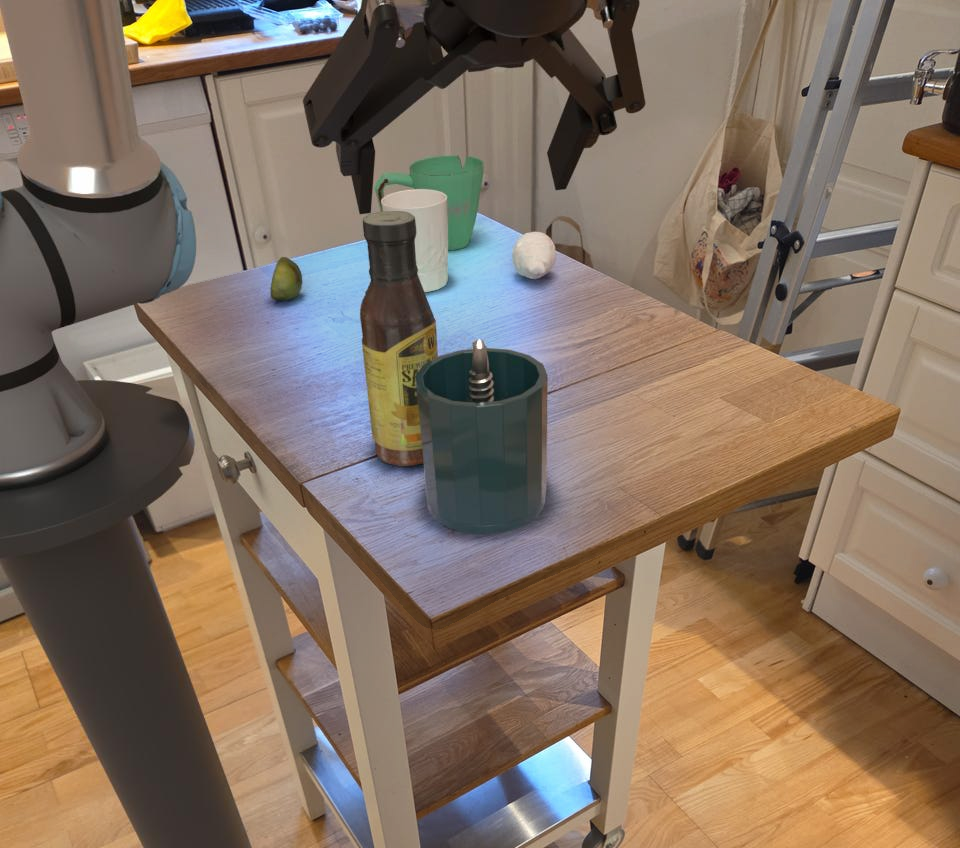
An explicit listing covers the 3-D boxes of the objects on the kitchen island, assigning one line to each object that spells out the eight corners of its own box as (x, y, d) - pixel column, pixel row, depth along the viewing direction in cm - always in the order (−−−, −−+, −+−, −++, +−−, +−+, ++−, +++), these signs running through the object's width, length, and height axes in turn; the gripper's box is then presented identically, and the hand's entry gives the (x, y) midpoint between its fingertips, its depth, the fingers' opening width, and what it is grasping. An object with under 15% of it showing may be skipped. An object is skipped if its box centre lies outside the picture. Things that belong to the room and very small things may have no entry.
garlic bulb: (516, 292, 107) (515, 245, 104) (511, 274, 112) (510, 230, 108) (560, 289, 108) (561, 242, 104) (553, 272, 112) (554, 227, 108)
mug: (481, 230, 126) (478, 152, 119) (491, 252, 119) (488, 171, 112) (379, 239, 125) (370, 161, 118) (383, 262, 117) (374, 180, 111)
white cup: (451, 270, 114) (446, 187, 107) (453, 293, 108) (448, 205, 101) (390, 274, 114) (381, 191, 107) (389, 297, 108) (380, 210, 101)
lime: (275, 309, 106) (266, 267, 103) (265, 296, 110) (257, 255, 106) (310, 302, 108) (303, 260, 104) (300, 290, 111) (293, 248, 108)
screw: (480, 471, 75) (526, 487, 73) (444, 496, 72) (491, 515, 70) (473, 320, 66) (525, 334, 64) (432, 343, 63) (485, 358, 61)
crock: (407, 491, 75) (393, 368, 67) (506, 458, 78) (503, 338, 71) (462, 548, 68) (454, 418, 61) (568, 510, 71) (572, 383, 64)
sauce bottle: (420, 476, 76) (396, 236, 63) (361, 461, 79) (326, 226, 65) (458, 442, 80) (443, 210, 67) (401, 428, 83) (375, 202, 70)
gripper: (258, -1, 36) (286, 259, 57) (806, -43, 40) (645, 213, 61) (220, -174, 36) (262, 149, 57) (769, -197, 40) (621, 110, 61)
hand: (460, 182), depth 59 cm, fingers open, 13 cm apart
